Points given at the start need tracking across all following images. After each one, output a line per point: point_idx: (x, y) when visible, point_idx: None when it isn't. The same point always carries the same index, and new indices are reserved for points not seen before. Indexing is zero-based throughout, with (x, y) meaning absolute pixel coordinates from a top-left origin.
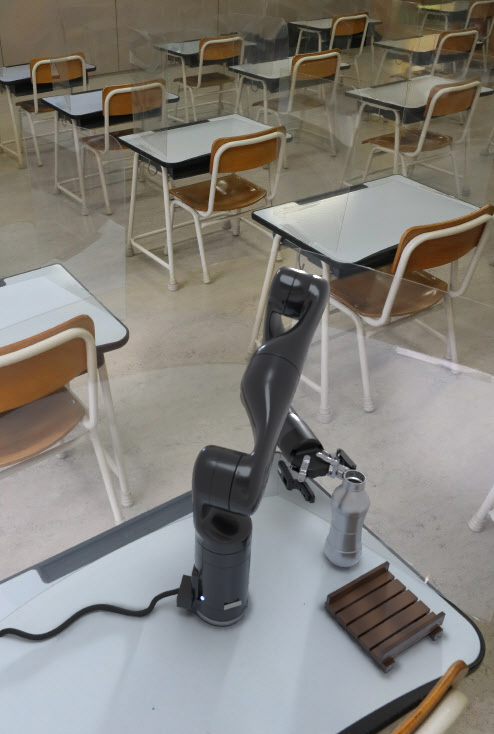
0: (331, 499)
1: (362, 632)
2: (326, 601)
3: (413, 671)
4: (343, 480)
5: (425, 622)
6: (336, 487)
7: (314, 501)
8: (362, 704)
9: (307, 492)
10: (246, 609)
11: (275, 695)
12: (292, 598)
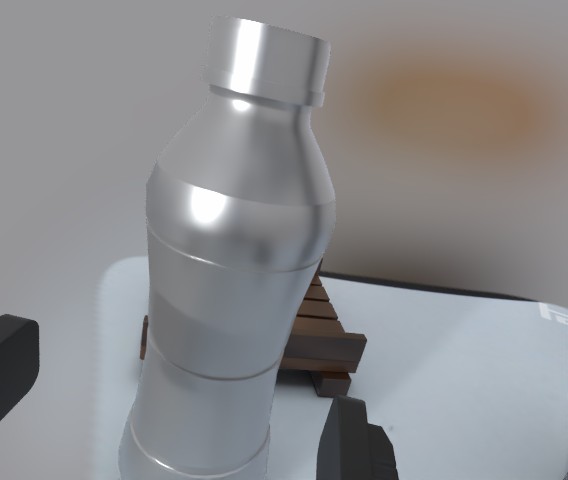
0: (324, 241)
1: (318, 301)
2: (360, 358)
3: None
4: (324, 71)
5: None
6: (287, 200)
7: (323, 430)
8: (360, 289)
9: (371, 450)
10: (566, 475)
11: (489, 343)
12: (419, 454)
